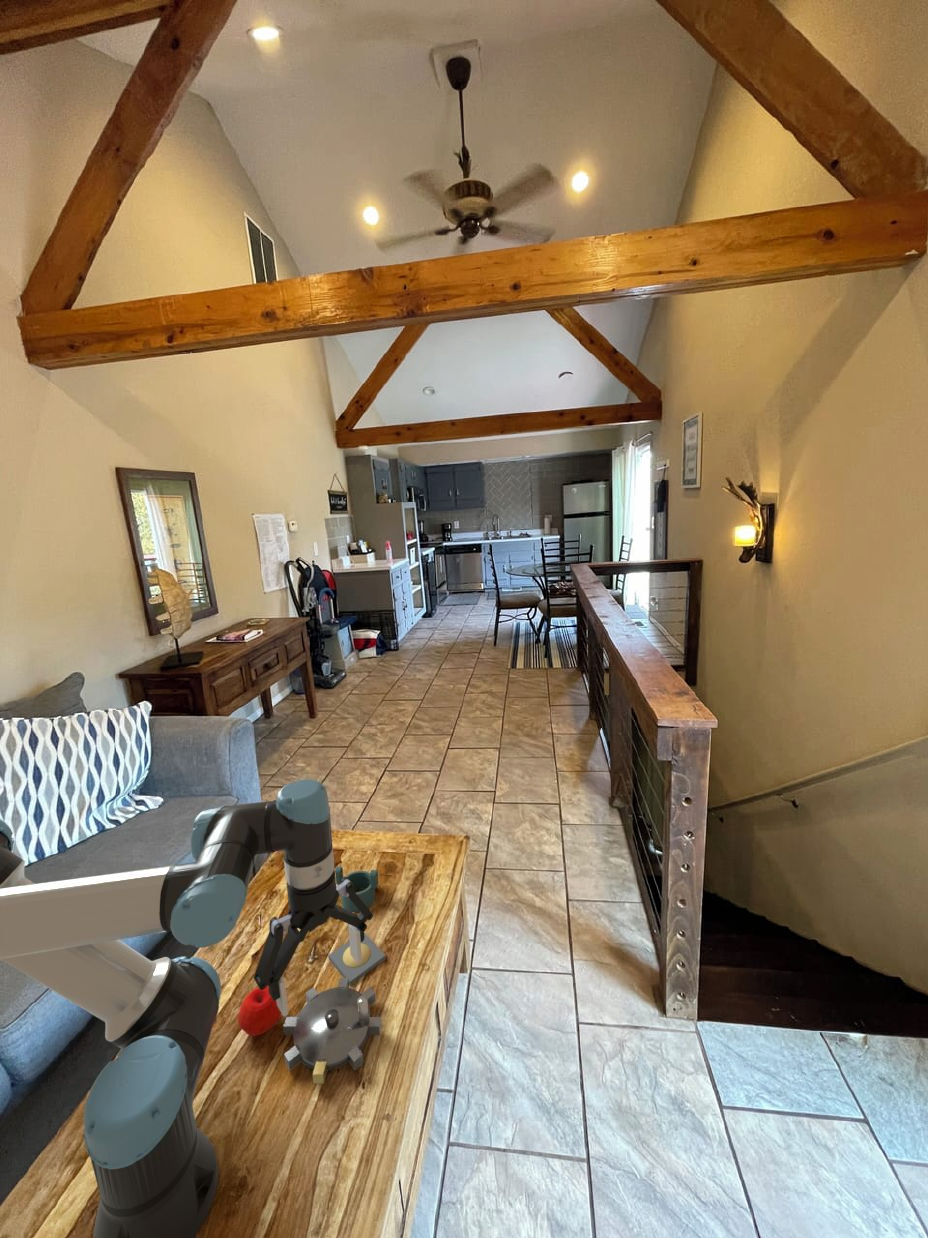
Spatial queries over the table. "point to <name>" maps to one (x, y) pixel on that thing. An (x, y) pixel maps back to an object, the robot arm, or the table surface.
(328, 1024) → the hub
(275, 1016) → the apple
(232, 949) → the table surface
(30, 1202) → the table surface
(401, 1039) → the table surface
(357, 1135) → the table surface
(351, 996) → the sprocket
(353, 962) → the seat
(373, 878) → the bracket
